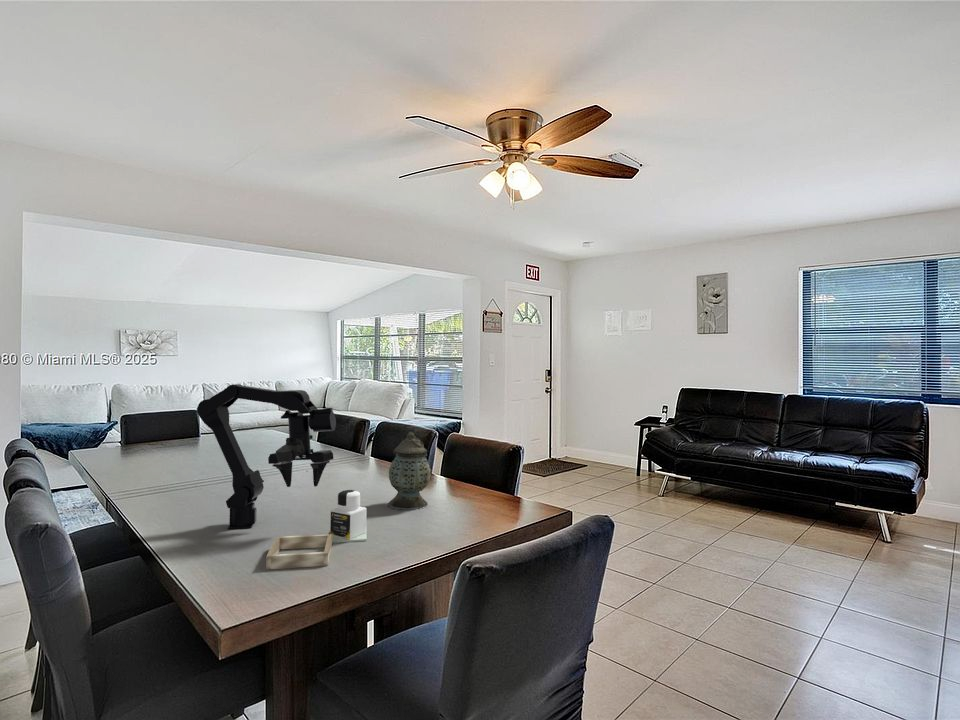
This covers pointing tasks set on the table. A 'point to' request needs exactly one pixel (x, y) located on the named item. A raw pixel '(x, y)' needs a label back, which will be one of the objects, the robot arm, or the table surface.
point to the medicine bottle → (348, 516)
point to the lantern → (409, 474)
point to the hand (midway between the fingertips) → (302, 486)
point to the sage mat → (359, 538)
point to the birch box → (299, 559)
